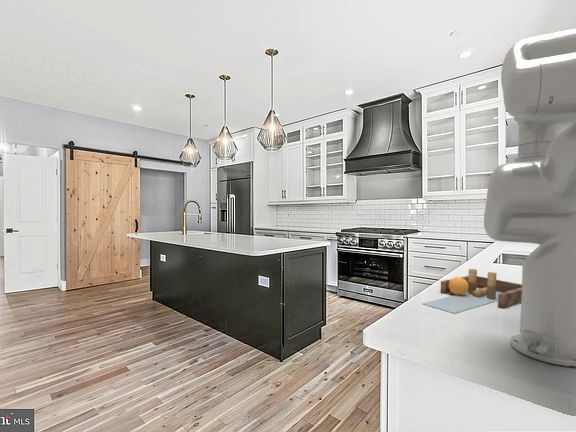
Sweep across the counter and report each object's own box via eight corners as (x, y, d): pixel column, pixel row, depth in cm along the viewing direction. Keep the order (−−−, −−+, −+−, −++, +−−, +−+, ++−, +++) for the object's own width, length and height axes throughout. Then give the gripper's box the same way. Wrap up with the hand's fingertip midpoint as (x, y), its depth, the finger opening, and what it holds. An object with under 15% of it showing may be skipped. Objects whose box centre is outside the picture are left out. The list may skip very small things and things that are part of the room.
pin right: (493, 300, 100) (494, 274, 100) (485, 298, 102) (486, 272, 102) (497, 299, 101) (497, 273, 101) (489, 297, 103) (489, 271, 103)
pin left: (473, 295, 105) (474, 270, 105) (466, 294, 107) (467, 269, 107) (477, 294, 106) (478, 269, 106) (470, 293, 108) (471, 268, 108)
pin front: (478, 289, 102) (489, 286, 107) (471, 291, 104) (482, 287, 109) (481, 297, 102) (492, 293, 106) (473, 298, 103) (485, 294, 108)
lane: (454, 313, 86) (454, 313, 86) (422, 304, 95) (422, 303, 95) (514, 295, 106) (514, 295, 106) (482, 288, 114) (482, 288, 114)
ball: (476, 289, 104) (467, 281, 101) (462, 301, 105) (453, 294, 102) (463, 278, 109) (454, 270, 106) (450, 290, 110) (441, 282, 108)
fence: (503, 308, 92) (503, 295, 92) (440, 292, 108) (440, 281, 108) (532, 298, 103) (533, 286, 102) (471, 285, 119) (471, 275, 119)
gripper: (578, 149, 77) (575, 224, 78) (508, 157, 90) (506, 221, 90) (569, 145, 73) (566, 224, 73) (497, 154, 85) (495, 221, 86)
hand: (533, 222), depth 82 cm, fingers closed
